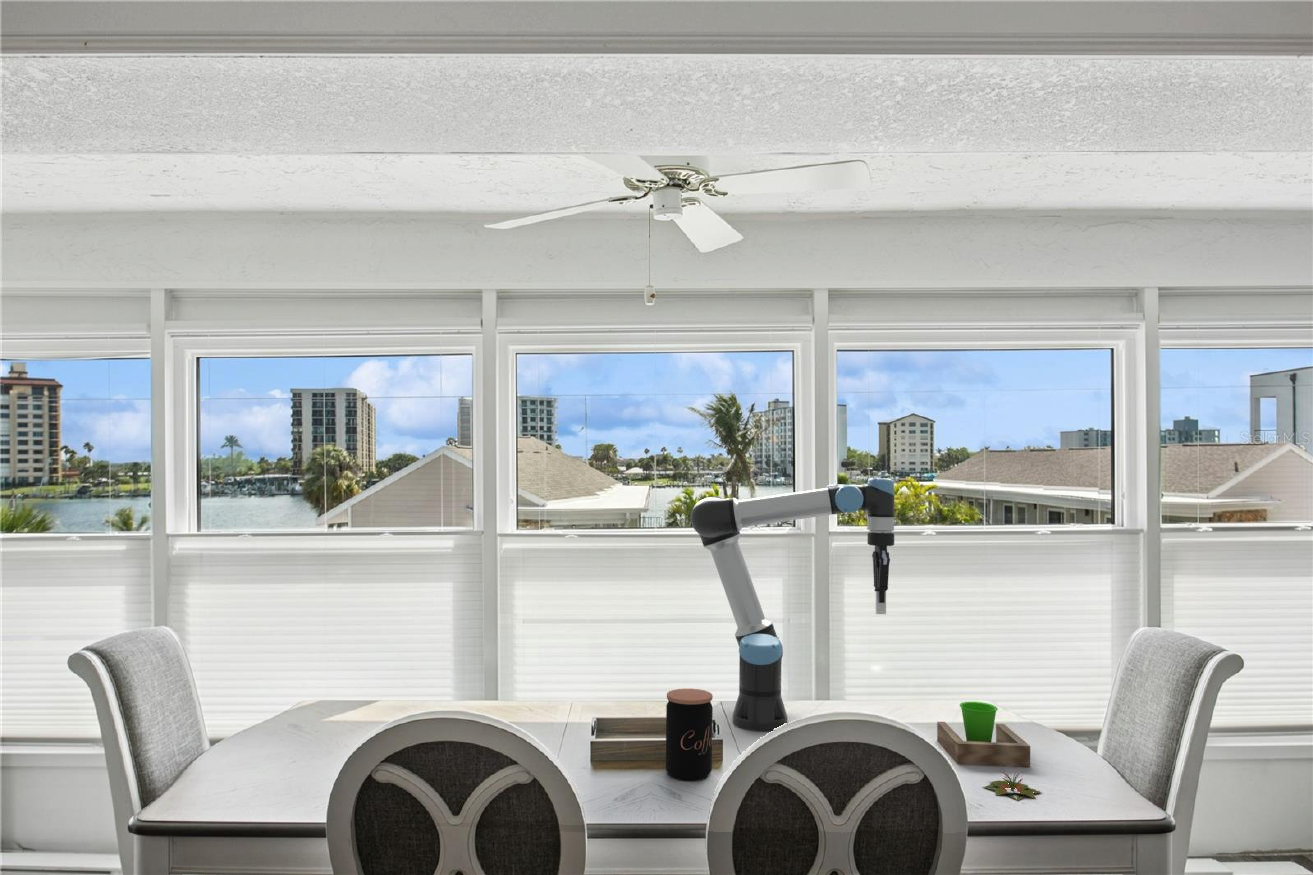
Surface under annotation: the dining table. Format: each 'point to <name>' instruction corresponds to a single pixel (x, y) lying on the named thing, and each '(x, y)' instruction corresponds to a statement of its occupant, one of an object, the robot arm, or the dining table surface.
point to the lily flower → (1012, 787)
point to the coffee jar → (689, 734)
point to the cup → (978, 720)
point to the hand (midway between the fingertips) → (880, 613)
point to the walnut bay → (985, 748)
